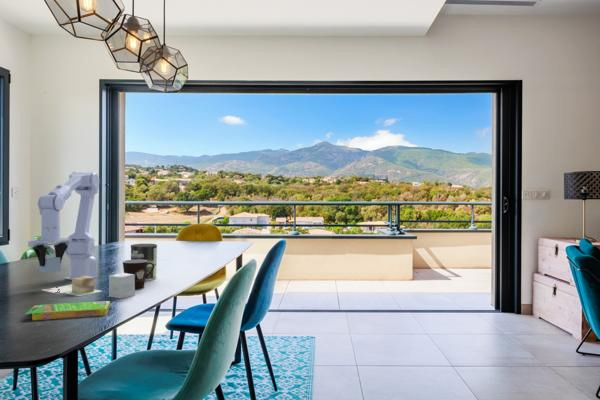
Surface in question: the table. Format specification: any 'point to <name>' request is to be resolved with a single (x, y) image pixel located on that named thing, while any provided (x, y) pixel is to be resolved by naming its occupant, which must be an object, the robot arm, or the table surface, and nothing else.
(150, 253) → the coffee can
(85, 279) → the block
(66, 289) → the letter
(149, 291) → the table surface
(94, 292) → the mat
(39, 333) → the table surface
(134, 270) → the coffee mug
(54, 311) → the game box
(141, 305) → the table surface
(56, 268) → the cube
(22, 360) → the table surface
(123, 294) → the skincare box
